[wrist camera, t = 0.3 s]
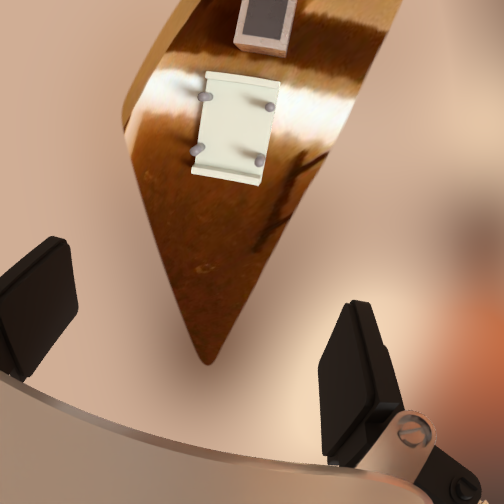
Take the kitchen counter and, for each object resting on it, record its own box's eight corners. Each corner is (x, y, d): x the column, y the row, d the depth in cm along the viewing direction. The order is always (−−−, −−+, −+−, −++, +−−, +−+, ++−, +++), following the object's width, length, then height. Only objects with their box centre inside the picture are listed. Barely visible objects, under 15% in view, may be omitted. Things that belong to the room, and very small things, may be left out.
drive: (253, -9, 27) (248, -27, 22) (297, -2, 27) (300, -20, 22) (241, 51, 31) (232, 42, 25) (285, 58, 31) (285, 50, 25)
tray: (210, 71, 32) (202, 69, 29) (280, 82, 32) (280, 80, 29) (196, 168, 38) (186, 177, 34) (261, 180, 38) (258, 190, 34)
